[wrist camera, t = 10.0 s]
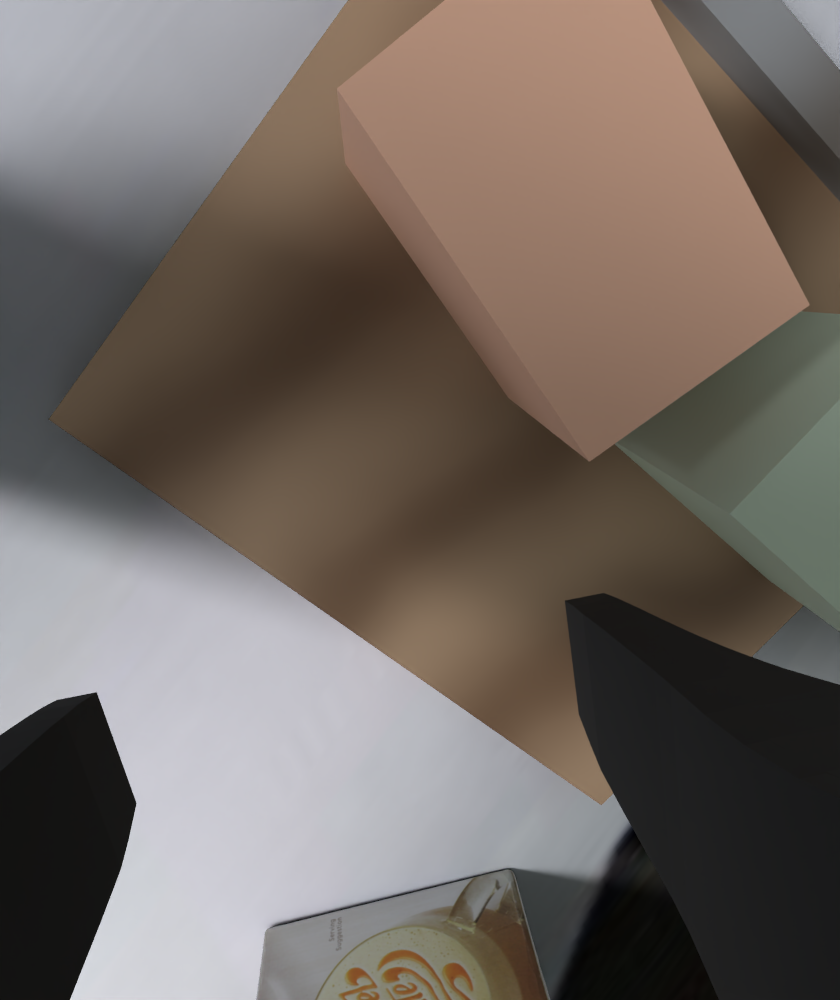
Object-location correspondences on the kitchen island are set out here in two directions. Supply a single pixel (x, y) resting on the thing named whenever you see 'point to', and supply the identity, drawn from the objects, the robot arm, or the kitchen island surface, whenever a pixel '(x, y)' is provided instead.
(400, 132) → the terracotta box
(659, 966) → the kitchen island surface
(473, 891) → the coffee box
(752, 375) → the sage box
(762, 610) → the shelf board
